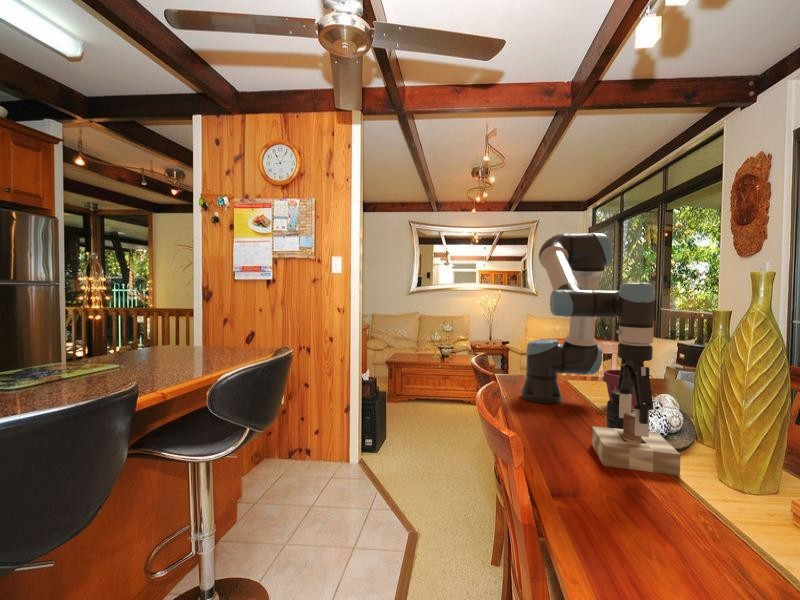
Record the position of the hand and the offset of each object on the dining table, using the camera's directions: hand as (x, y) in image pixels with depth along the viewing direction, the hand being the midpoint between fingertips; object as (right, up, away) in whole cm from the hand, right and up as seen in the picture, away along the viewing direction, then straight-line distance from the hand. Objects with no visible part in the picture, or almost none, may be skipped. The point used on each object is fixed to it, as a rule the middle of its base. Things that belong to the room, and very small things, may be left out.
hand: (632, 426), depth 97 cm
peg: (0, -8, 0) cm, 8 cm away
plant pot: (+24, -8, +44) cm, 51 cm away
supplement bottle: (+7, -8, +19) cm, 22 cm away
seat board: (0, -8, 0) cm, 8 cm away
